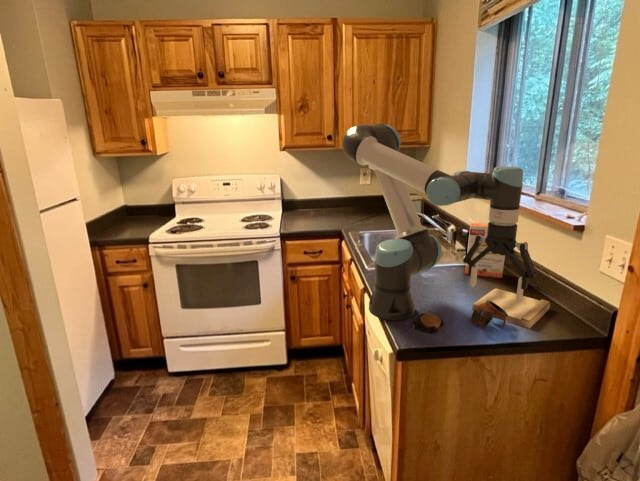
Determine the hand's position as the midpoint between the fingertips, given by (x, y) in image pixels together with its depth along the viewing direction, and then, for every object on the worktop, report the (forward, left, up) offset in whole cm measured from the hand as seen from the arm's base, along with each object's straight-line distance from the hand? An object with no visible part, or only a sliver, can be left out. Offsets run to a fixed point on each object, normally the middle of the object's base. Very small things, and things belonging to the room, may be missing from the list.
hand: (495, 292), depth 116 cm
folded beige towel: (0, +16, -12) cm, 20 cm away
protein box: (-91, +96, -12) cm, 133 cm away
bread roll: (-14, -12, -12) cm, 22 cm away
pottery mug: (-1, 0, -12) cm, 12 cm away
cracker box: (-20, +40, -12) cm, 46 cm away
